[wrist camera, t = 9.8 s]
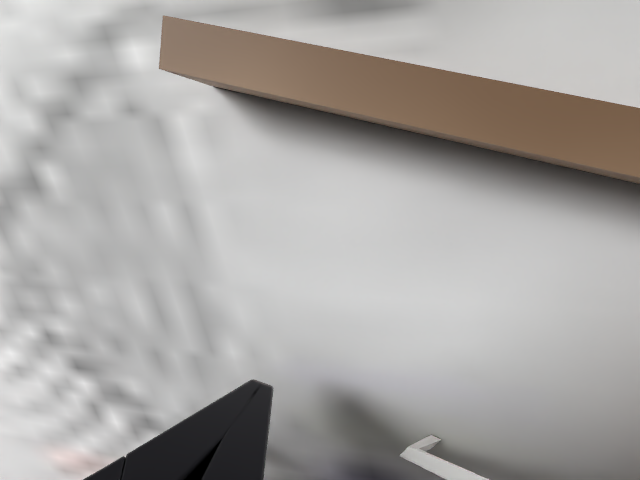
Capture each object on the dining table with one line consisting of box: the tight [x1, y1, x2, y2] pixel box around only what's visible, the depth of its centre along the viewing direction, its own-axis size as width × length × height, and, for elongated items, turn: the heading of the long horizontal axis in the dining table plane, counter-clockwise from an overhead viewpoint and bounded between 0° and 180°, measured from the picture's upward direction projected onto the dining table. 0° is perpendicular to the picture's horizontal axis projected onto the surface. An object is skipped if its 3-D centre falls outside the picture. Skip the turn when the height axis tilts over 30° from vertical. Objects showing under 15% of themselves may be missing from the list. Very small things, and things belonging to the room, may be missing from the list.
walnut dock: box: [159, 16, 640, 184], centre depth 9 cm, size 18×15×2 cm
